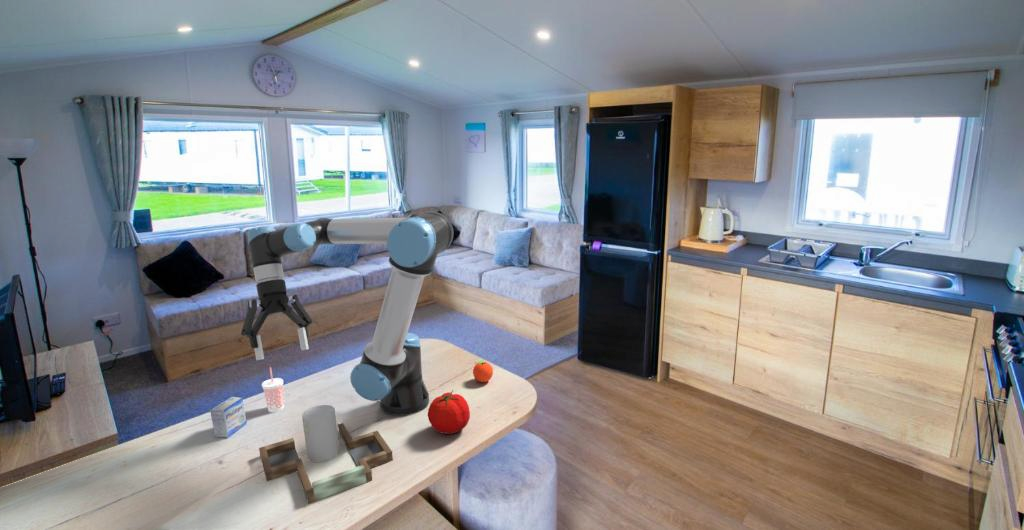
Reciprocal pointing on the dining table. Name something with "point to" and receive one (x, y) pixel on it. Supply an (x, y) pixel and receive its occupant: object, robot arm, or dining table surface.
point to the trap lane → (365, 454)
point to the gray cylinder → (320, 433)
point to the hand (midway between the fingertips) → (283, 354)
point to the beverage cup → (274, 393)
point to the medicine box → (228, 417)
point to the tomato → (449, 413)
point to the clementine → (482, 371)
